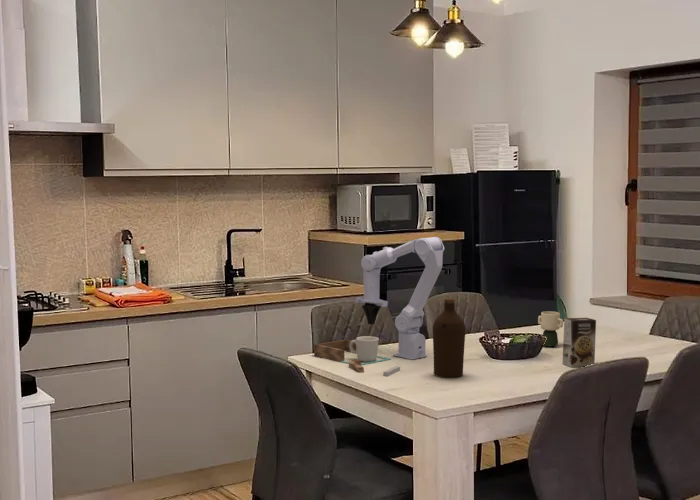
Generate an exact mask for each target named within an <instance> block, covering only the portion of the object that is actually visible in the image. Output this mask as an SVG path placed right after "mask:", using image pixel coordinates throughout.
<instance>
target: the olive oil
mask: <svg viewBox="0 0 700 500" xmlns="http://www.w3.org/2000/svg"><path fill="white" fill-rule="evenodd" d="M443 304H444V306H443V307H444V308H443V311H442V312H441V313H440V314H439V315H438V316H437V317H436V318H435V319H434V322H433V324H432V346H433V375H434V376H436V377H439V378H447V379H452V378H453V379H454V378H460V377H462V376H463V375H464V357H465V344H466V343H465V341H466V329H467V328H466V323H465V321H464V320H463V318H462V317H461V316H460V315H459V314H458V312H457V311H456V310H455V307H456V306H455V305H456V303H455V298H454V297H445V298H444V303H443Z"/></svg>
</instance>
